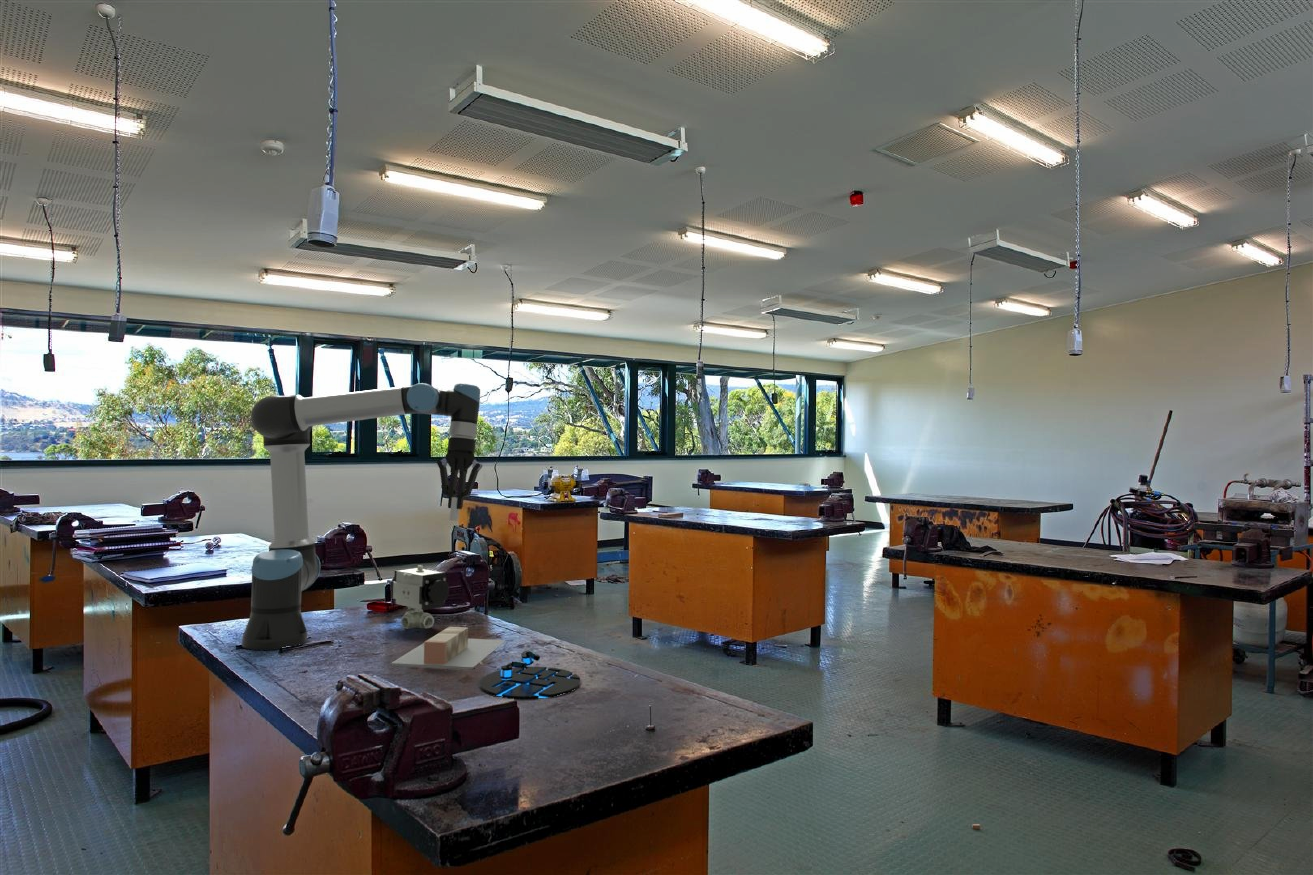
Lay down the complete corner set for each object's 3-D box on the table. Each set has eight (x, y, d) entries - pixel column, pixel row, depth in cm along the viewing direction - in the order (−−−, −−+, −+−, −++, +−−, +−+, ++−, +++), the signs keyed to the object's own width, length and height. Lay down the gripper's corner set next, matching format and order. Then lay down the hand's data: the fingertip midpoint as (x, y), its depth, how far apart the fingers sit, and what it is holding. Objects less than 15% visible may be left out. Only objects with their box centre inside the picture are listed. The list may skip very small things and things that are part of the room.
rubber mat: (433, 639, 205) (433, 636, 205) (505, 642, 203) (505, 640, 203) (390, 665, 179) (390, 662, 179) (473, 669, 177) (473, 667, 177)
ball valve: (384, 625, 219) (386, 564, 219) (409, 621, 226) (410, 561, 226) (424, 635, 209) (426, 570, 209) (449, 630, 215) (450, 567, 216)
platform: (596, 677, 175) (597, 649, 175) (551, 706, 154) (551, 674, 154) (513, 666, 182) (513, 639, 182) (458, 692, 162) (459, 661, 162)
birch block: (449, 626, 196) (424, 641, 180) (468, 627, 195) (444, 642, 179) (448, 646, 196) (423, 663, 180) (467, 647, 195) (444, 664, 179)
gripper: (488, 440, 221) (480, 522, 219) (445, 437, 222) (436, 518, 220) (480, 438, 214) (471, 522, 211) (435, 435, 215) (426, 518, 213)
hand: (453, 520), depth 216 cm, fingers closed
